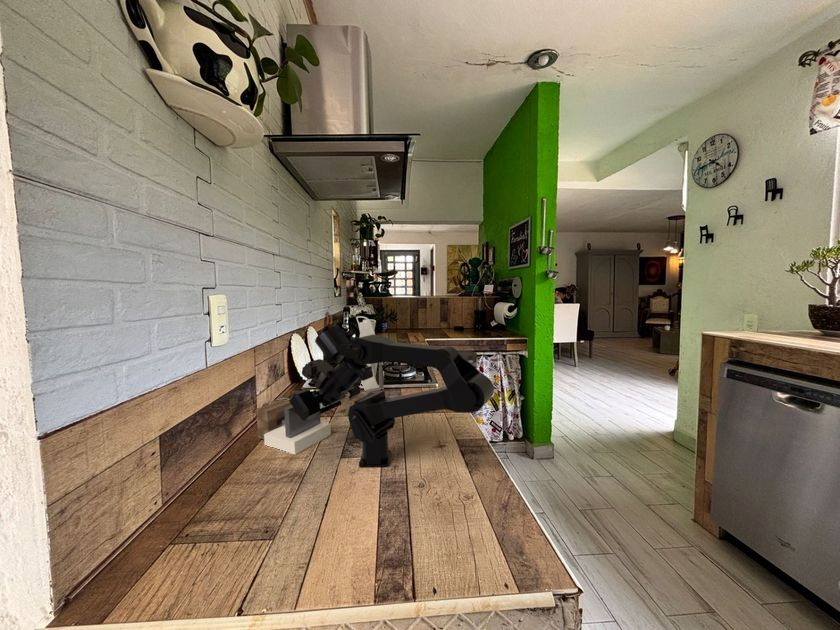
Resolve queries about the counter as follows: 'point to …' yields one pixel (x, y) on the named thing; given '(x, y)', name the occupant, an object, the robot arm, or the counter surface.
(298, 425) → the grey piece
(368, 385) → the skyscraper
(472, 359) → the transparent upright cylinder
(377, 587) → the counter surface
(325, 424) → the door block
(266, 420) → the block
